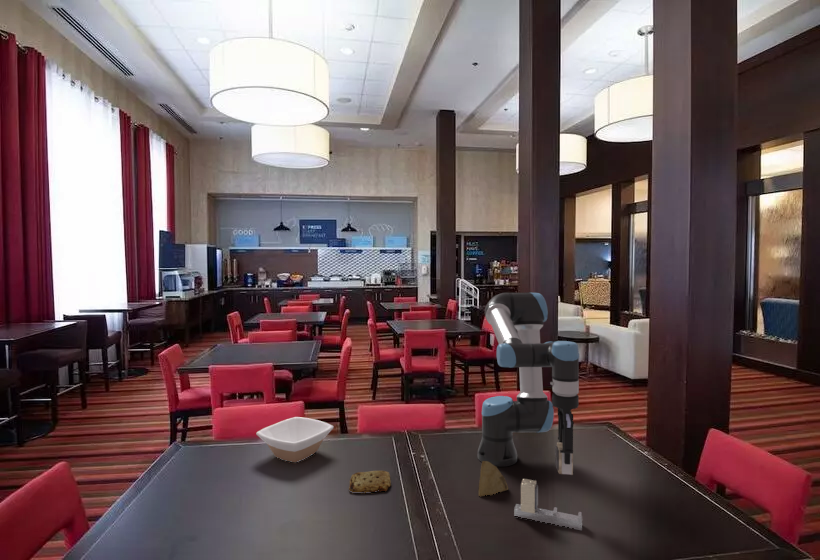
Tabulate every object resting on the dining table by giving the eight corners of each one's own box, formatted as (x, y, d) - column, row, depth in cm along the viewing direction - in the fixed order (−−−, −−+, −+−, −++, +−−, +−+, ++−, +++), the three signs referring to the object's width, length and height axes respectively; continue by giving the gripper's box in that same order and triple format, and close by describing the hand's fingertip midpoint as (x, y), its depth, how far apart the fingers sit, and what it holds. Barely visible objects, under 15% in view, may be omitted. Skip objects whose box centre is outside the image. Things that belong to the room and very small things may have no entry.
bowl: (339, 450, 187) (338, 425, 186) (293, 474, 166) (293, 446, 165) (297, 438, 199) (297, 414, 199) (250, 459, 179) (250, 433, 178)
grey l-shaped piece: (513, 517, 137) (514, 483, 137) (516, 510, 141) (516, 477, 140) (581, 531, 130) (582, 495, 129) (582, 523, 134) (582, 488, 133)
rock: (509, 477, 158) (480, 470, 160) (512, 464, 152) (482, 458, 154) (506, 508, 150) (475, 501, 152) (509, 496, 144) (477, 489, 146)
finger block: (555, 467, 141) (555, 442, 141) (570, 468, 140) (570, 443, 140) (557, 473, 137) (557, 447, 137) (572, 474, 136) (573, 448, 136)
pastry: (404, 483, 159) (404, 475, 159) (367, 503, 147) (367, 494, 147) (371, 468, 171) (371, 460, 171) (334, 485, 159) (333, 477, 158)
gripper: (548, 385, 147) (548, 458, 148) (556, 400, 130) (556, 482, 131) (573, 386, 146) (573, 459, 146) (584, 401, 129) (584, 484, 130)
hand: (565, 470), depth 139 cm, fingers closed on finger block, 4 cm apart
